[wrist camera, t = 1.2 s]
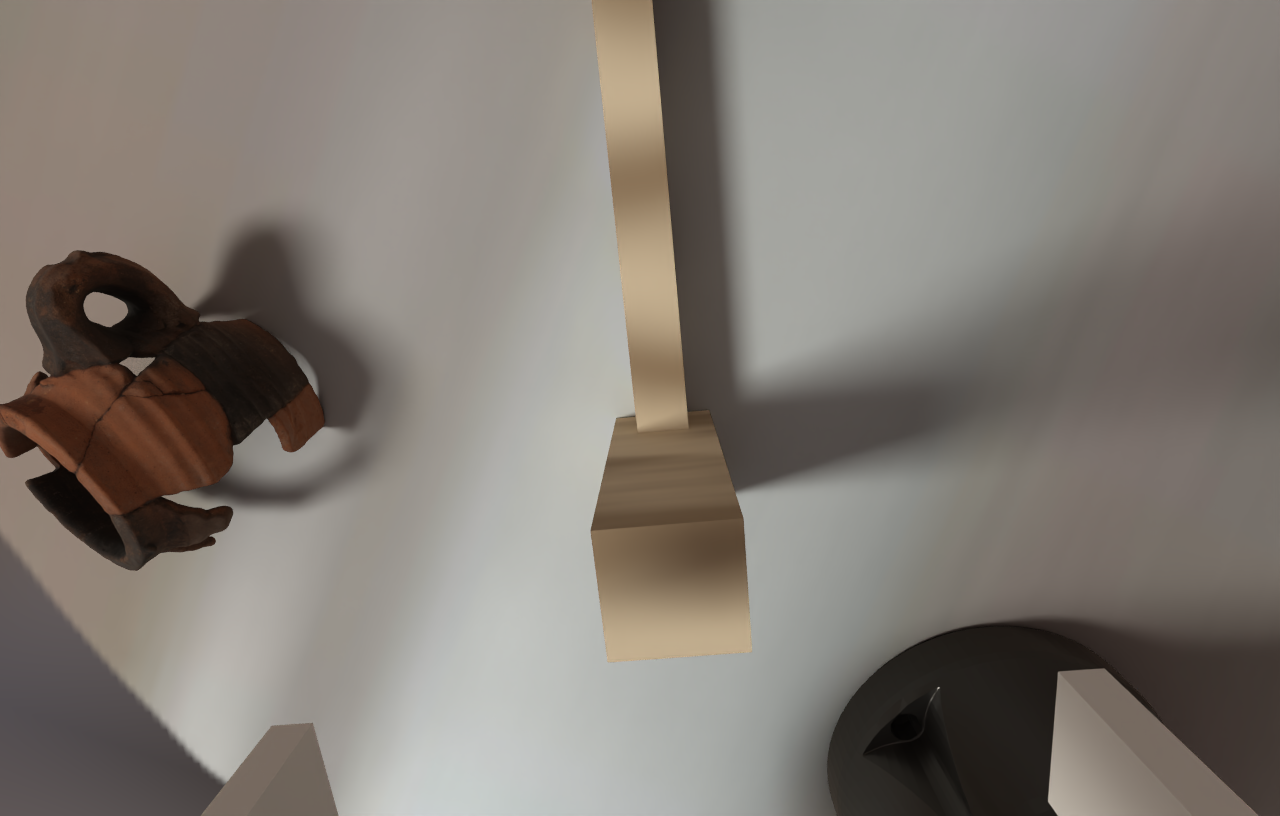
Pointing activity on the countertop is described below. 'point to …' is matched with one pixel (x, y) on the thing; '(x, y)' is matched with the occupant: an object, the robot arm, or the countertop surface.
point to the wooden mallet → (658, 403)
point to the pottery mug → (144, 408)
